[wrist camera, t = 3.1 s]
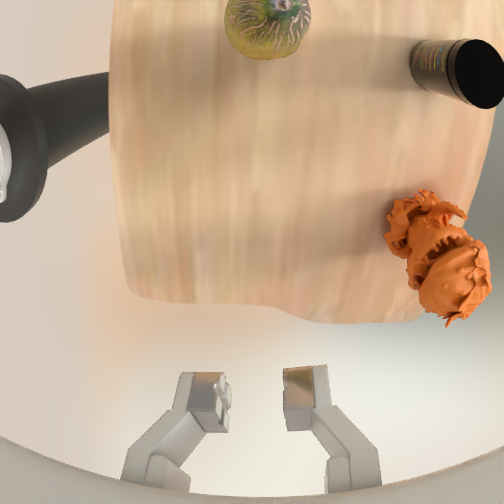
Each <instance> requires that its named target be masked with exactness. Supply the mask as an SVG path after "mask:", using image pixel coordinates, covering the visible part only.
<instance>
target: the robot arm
mask: <svg viewBox="0 0 504 504" xmlns="http://www.w3.org/2000/svg"><path fill="white" fill-rule="evenodd" d="M11 167H12V156H11V149H10V144H9V141H8V138H7V135H6V133H5V131H4V129H3V127H2V125H1V124H0V203H2V202H3V201H5V200H6V195H7V188H6V187H7V183H8V180H9V177H10V173H11ZM225 379H226V376H225V374H224V372H182V373H181V375H180V377H179V381H178V385H177V389H176V393H175V398H174V402H173V406H172V410H168V411H167V412H166V413H165V414H164V415H163V416H162V417H161V418H160V419H159V420H158V421H157V422H156V423H155V424H153V426H151V427H150V428H149V429H148V430H147V431H146V433H144V434H143V435H142V436H141V437H140V438H139V439H138V440H137V441H136V442H135V443H134V444H133V445H132V446H131V447H130V448H129V449H128V452H127V456H126V459H125V463H124V467H123V471H122V475H121V479H120V480H118V479H114V478H110V477H107V476H103V475H99V474H96V473H93V472H89V471H86V470H83V469H79V468H77V467H74V466H71V465H68V464H65V463H62V462H59V461H57V460H54V459H51V458H49V457H46V456H44V455H41V454H39V453H36V452H34V451H32V450H30V449H27V448H25V447H23V446H21V445H18V444H16V443H14V442H12V441H10V440H8V439H6V438H4V437H1V436H0V504H504V445H503V446H501V447H499V448H497V449H495V450H492V451H490V452H488V453H486V454H483V455H480V456H478V457H475V458H473V459H470V460H468V461H465V462H462V463H460V464H457V465H454V466H452V467H448V468H445V469H442V470H439V471H436V472H433V473H429V474H426V475H422V476H419V477H415V478H411V479H407V480H403V481H399V482H395V483H390V484H385V485H382V481H381V473H380V465H379V458H378V451H377V449H376V447H375V446H374V445H373V444H372V443H371V442H370V441H369V440H368V439H367V438H366V437H365V436H364V435H363V434H362V433H361V432H360V430H359V429H358V428H357V427H356V426H355V425H354V424H353V423H352V422H351V421H350V420H349V419H348V418H347V416H346V415H345V414H344V413H343V412H342V411H341V410H340V409H339V408H338V407H337V406H332V399H331V390H330V382H329V374H328V367H327V365H326V364H325V365H318V366H306V367H296V368H286V369H283V383H284V391H283V411H284V416H285V419H286V426H287V430H288V431H304V430H311V431H312V432H313V434H314V435H315V437H317V439H318V441H319V442H320V443H321V445H322V446H323V447H324V449H325V450H326V451H327V452H328V454H329V455H330V456H331V457H330V458H329V459H328V460H327V465H326V471H325V478H324V479H325V494H319V495H309V496H308V495H307V496H291V497H236V496H219V495H207V494H197V493H189V488H190V481H191V478H190V476H189V475H188V474H186V473H185V472H184V471H183V470H181V469H180V468H179V467H180V466H181V465H182V464H183V462H184V461H185V460H186V459H187V458H188V456H189V455H190V454H191V452H192V451H193V450H194V449H195V447H196V446H197V445H198V443H199V442H200V441H201V440H202V438H203V437H204V436H205V434H206V433H228V428H229V419H230V417H229V415H228V413H227V410H228V409H229V408H230V407H231V389H230V386H229V384H228V383H226V382H225Z"/></svg>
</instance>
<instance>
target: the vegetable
mask: <svg viewBox="0 0 504 504" xmlns="http://www.w3.org/2000/svg"><path fill="white" fill-rule="evenodd" d="M310 20H311V11H310V6H309V3H308V0H229V1H228V4H227V7H226V11H225V30H226V35H227V37H228V39H229V41H230V43H231V45H232V46H233V47H234V48H235V49H236V50H237V51H239V52H240V53H242V54H243V55H245V56H247V57H250V58H253V59H258V60H270V59H277V58H282V57H286V56H288V55H290V54H292V53H293V52H294V51H295V50H296V49H297V48H298V46H299V44H300V42H301V40H302V38H303V36H304V35H305V33H306V32H307V30H308V28H309V25H310Z"/></svg>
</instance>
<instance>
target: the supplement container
mask: <svg viewBox="0 0 504 504" xmlns="http://www.w3.org/2000/svg"><path fill="white" fill-rule="evenodd" d="M411 69H412V72H413V75H414V77H415V79H416V80H417V82H418V83H419V84H420V85H421V86H422V87H423V88H424V89H426V90H428V91H430V92H432V93H436V94H439V95H443V96H446V97H449V98H452V99H456V100H459V101H462V102H465V103H466V104H469V105H472V106H475V107H478V108H481V109H490V108H493V107H495V106H496V105H498V104H499V103H500V102H501V100H502V99H503V97H504V62H503V60H502V58H501V56H500V55H499V53H498V52H497V51H496V50H495V48H493V47H492V46H491V45H490V44H488V43H487V42H485V41H482V40H478V39H446V40H426V41H423V42H421V43H419V44H418V45H417V46H416V47H415V48H414V50H413V52H412V55H411Z"/></svg>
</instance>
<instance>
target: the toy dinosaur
mask: <svg viewBox="0 0 504 504" xmlns="http://www.w3.org/2000/svg"><path fill="white" fill-rule="evenodd" d="M419 192H420V193H422V194H423V197H424V198H423V197H421V196H418V195H417V194H414V195H415V198H412V199H409V198H404V199H402V200H400V201H399V200H394V208H393V211H392V212H391V213H392V215H393V216H391V215H390V214H388V215H387V216H386V219H387V220H388V221H389V223H390V224H391V227H390V231H389V232H387V233H386V234H385V235H384V238H385V240H386V241H387V244H388V247H389V249H390V250H391V252H392V253H393V254H394V255H396V256H399V257H400V258H402V259H405V258H407V269H406V271H407V273H408V276H409V281H408V284H409V286H410V287H411V288H412V289H414V290H418V291H419V301H420V304H421V305H422V307H423V308H425V309H426V312H427V313H429V312H432V313H436V314H439V315H438V317H439V316H445V317H443V319H446V318H449V319H448V320H447V323H446V325H445V327H447V326H448V325H449V324H450V323H451V322H452V321H453V320H455V319H456V318H462V319H463V320H464V319H465V318H468V317H469V316H470V314H471V313H472V312H473V311H474V310H475V309H476V307H477V306H478V305H479V304H481V303H482V302H483V301H484V299H485V297H486V296H487V295H488V294H489V293H490V292H491V290H492V285H491V282H490V277H491V273H490V269H489V267H490V264H489V259H488V252H487V249H486V246H485V245H484V244H483V243H482V242H481V241H479V240H476V241H473V238H472V237H471V236H468V235H467V233H466V231H465V230H464V229H463V228H459V227H456V226H453V225H452V224H449V221H450V219H451V218H452V216H453V215H454V214H456V215H457V216H459V217H461V218H463V219H465V220H467V218H468V217H467V215H466V214H465V213H464V212H463V210H460V209H459V208H458V206H457V205H456V206H455V205H454V204H450V202H440V200H439V199H438V198H437V197H436V196H435V193H433V192H432V191H430V192H431V193H430V194H429V192H428V190H421V188H419ZM392 217H393V218H392ZM394 242H396V245H397V247H398V248H399V249H398V248H397V247H396V246H395V244H394Z"/></svg>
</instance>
